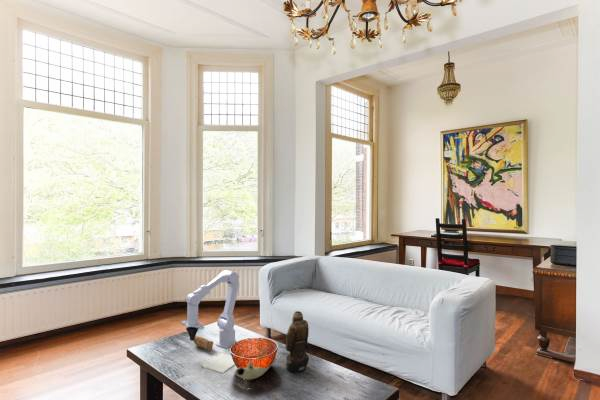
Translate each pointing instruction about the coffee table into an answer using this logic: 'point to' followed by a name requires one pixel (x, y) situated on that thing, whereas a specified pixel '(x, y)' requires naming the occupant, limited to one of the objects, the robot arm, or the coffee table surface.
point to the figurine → (203, 343)
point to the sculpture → (297, 344)
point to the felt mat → (220, 363)
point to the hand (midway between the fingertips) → (192, 339)
